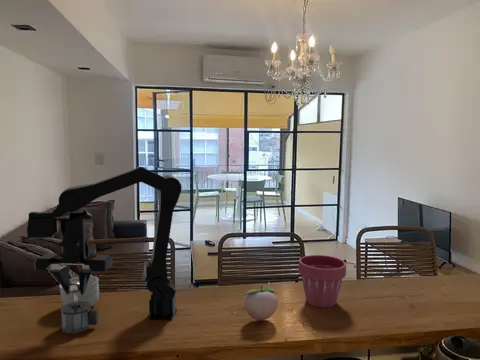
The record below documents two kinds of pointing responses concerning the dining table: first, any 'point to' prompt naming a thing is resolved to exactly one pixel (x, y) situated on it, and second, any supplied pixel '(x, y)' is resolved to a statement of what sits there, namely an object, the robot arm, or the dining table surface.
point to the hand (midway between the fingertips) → (75, 294)
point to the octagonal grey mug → (78, 317)
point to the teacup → (89, 295)
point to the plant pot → (322, 279)
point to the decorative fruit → (260, 303)
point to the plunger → (75, 292)
